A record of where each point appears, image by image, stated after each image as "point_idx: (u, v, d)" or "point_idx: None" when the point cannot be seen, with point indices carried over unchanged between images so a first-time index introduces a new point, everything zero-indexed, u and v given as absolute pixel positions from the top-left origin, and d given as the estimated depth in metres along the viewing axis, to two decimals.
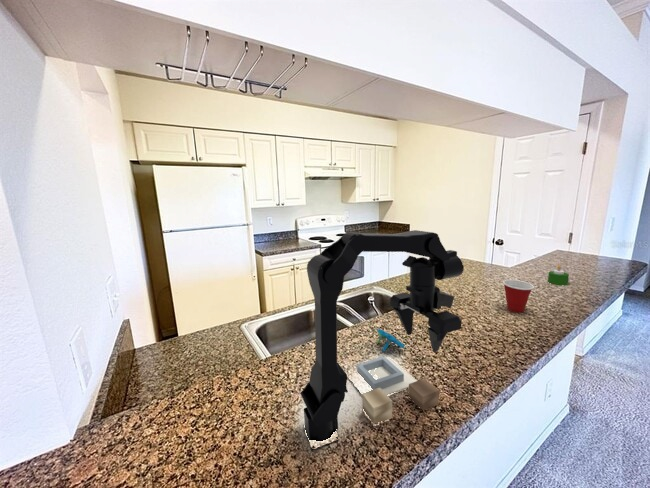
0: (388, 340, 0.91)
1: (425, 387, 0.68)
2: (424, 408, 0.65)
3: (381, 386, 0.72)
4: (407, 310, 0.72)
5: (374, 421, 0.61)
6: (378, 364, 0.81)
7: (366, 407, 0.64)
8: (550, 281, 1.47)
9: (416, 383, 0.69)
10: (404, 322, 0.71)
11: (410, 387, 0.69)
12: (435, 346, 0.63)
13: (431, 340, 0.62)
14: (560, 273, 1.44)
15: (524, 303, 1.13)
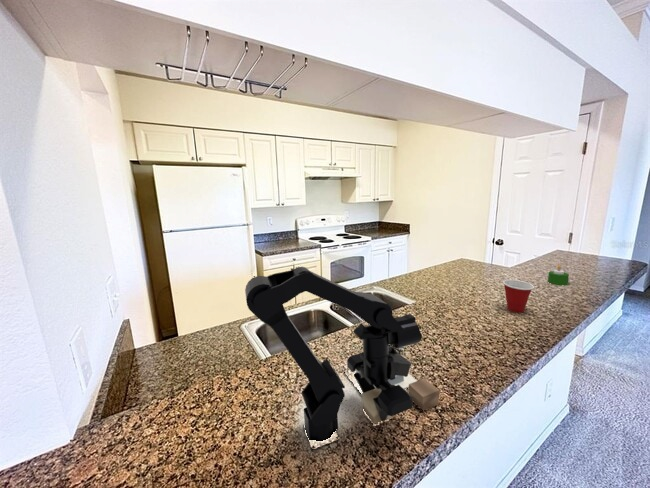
0: None
1: (425, 387, 0.68)
2: (424, 408, 0.65)
3: None
4: None
5: (374, 421, 0.61)
6: None
7: (366, 407, 0.64)
8: (550, 281, 1.47)
9: (416, 383, 0.69)
10: (364, 392, 0.66)
11: (410, 387, 0.69)
12: (382, 416, 0.61)
13: (377, 410, 0.60)
14: (560, 273, 1.44)
15: (524, 303, 1.13)
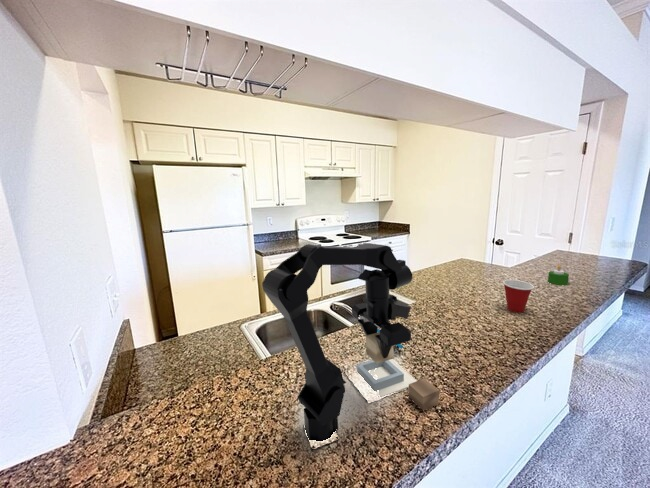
0: None
1: (425, 387, 0.68)
2: (424, 408, 0.65)
3: (381, 386, 0.72)
4: (371, 323, 0.71)
5: (376, 358, 0.67)
6: (378, 364, 0.81)
7: (369, 347, 0.69)
8: (550, 281, 1.47)
9: (416, 383, 0.69)
10: None
11: (410, 387, 0.69)
12: (384, 352, 0.66)
13: (379, 347, 0.66)
14: (560, 273, 1.44)
15: (524, 303, 1.13)
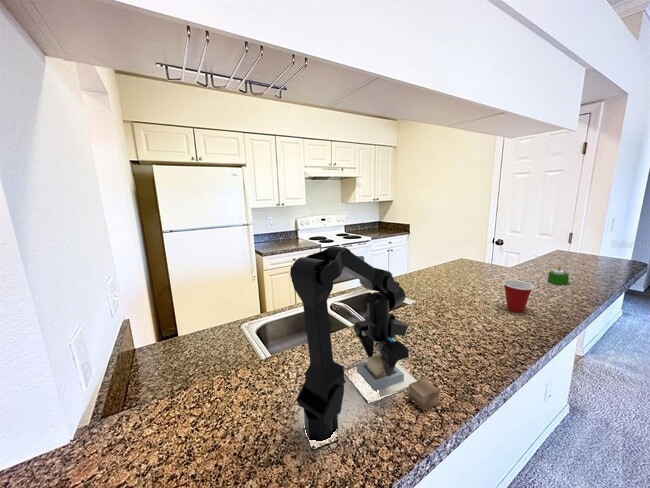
0: None
1: (425, 387, 0.68)
2: (424, 408, 0.65)
3: (381, 386, 0.72)
4: (368, 336, 0.80)
5: (377, 378, 0.74)
6: None
7: (371, 368, 0.77)
8: (550, 281, 1.47)
9: (416, 383, 0.69)
10: (365, 347, 0.80)
11: (410, 387, 0.69)
12: (388, 371, 0.71)
13: (384, 366, 0.71)
14: (560, 273, 1.44)
15: (524, 303, 1.13)
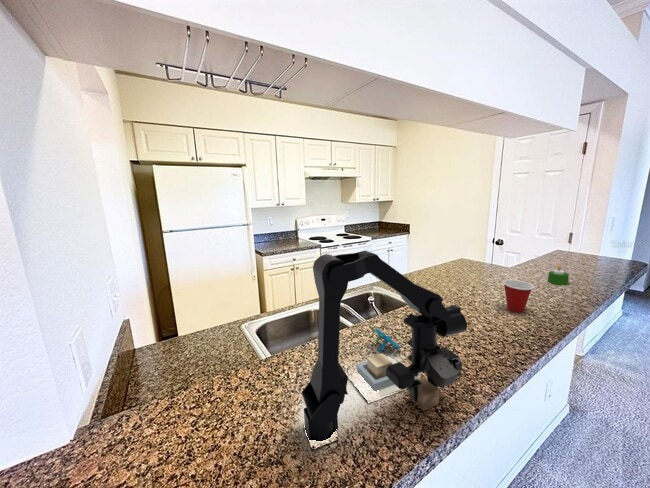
0: (384, 340, 0.91)
1: (425, 387, 0.68)
2: (424, 407, 0.65)
3: (381, 386, 0.72)
4: None
5: (377, 378, 0.74)
6: None
7: (371, 368, 0.77)
8: (550, 281, 1.47)
9: None
10: (428, 376, 0.70)
11: None
12: (410, 392, 0.67)
13: None
14: (560, 273, 1.44)
15: (524, 303, 1.13)
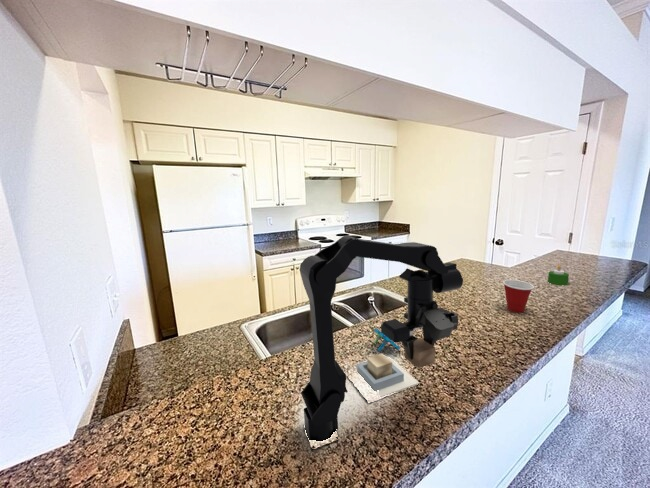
0: (384, 340, 0.91)
1: (421, 345, 0.66)
2: (420, 365, 0.64)
3: (381, 386, 0.72)
4: None
5: (377, 378, 0.74)
6: None
7: (371, 368, 0.77)
8: (550, 281, 1.47)
9: None
10: (424, 336, 0.69)
11: None
12: (406, 350, 0.66)
13: None
14: (560, 273, 1.44)
15: (524, 303, 1.13)
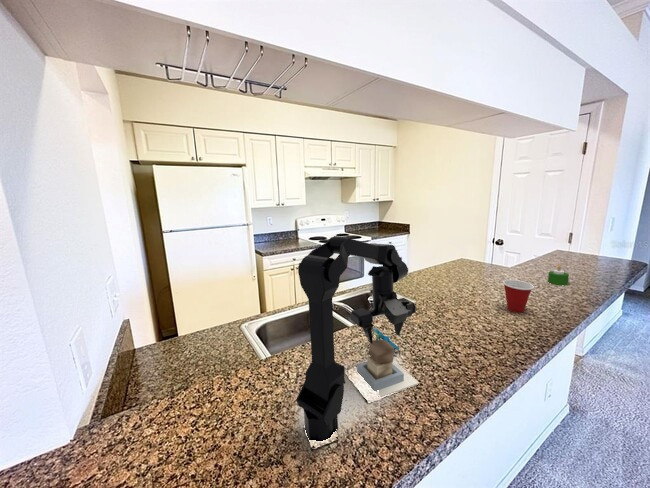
0: None
1: (383, 345, 0.76)
2: (378, 360, 0.74)
3: (381, 386, 0.72)
4: None
5: (377, 378, 0.74)
6: None
7: (371, 368, 0.77)
8: (550, 281, 1.47)
9: (377, 341, 0.78)
10: None
11: (370, 343, 0.78)
12: (366, 336, 0.78)
13: None
14: (560, 273, 1.44)
15: (524, 303, 1.13)
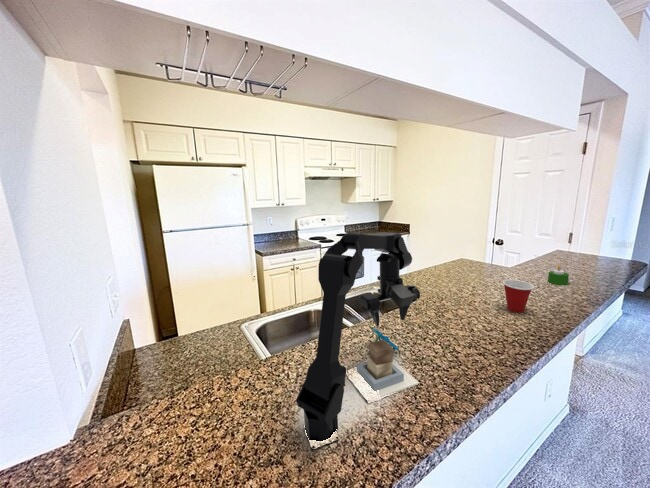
0: None
1: (381, 346, 0.76)
2: (377, 362, 0.74)
3: (381, 386, 0.72)
4: None
5: (377, 378, 0.74)
6: None
7: (371, 368, 0.77)
8: (550, 281, 1.47)
9: (375, 342, 0.78)
10: (399, 306, 0.87)
11: (369, 345, 0.78)
12: (373, 319, 0.82)
13: None
14: (560, 273, 1.44)
15: (524, 303, 1.13)
